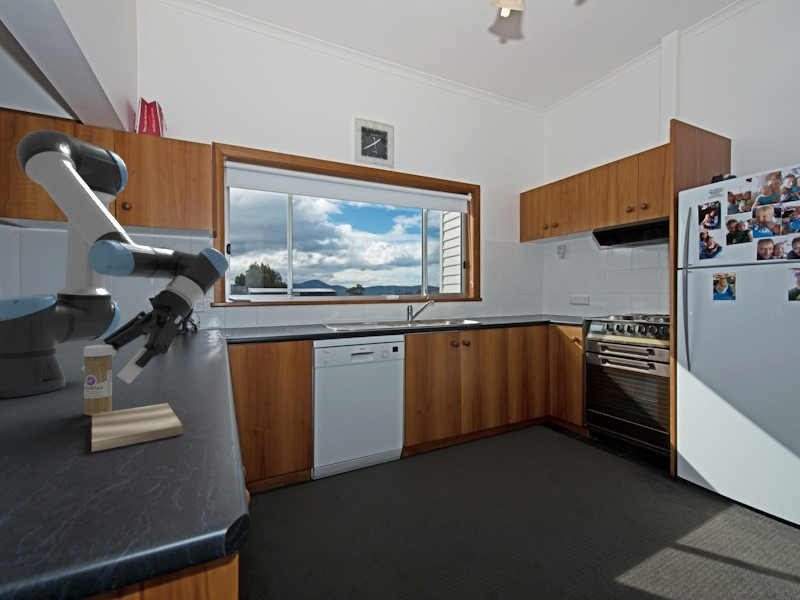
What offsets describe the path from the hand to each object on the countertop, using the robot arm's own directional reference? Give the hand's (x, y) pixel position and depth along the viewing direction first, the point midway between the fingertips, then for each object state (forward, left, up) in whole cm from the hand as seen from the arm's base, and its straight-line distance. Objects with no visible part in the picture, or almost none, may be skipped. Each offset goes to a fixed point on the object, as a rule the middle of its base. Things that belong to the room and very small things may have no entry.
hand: (104, 376), depth 76 cm
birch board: (+14, +4, -7) cm, 17 cm away
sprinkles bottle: (-1, -1, -7) cm, 8 cm away
